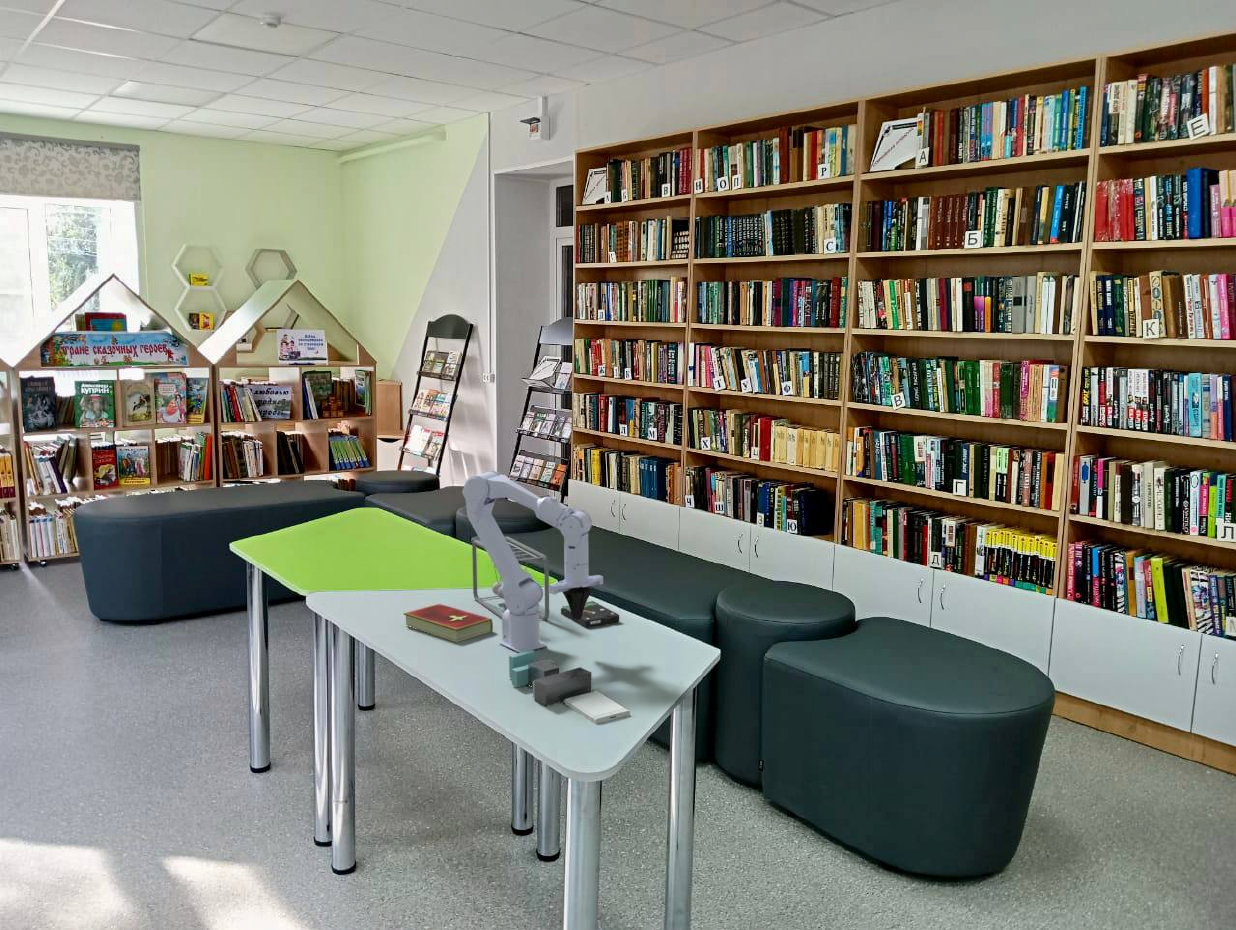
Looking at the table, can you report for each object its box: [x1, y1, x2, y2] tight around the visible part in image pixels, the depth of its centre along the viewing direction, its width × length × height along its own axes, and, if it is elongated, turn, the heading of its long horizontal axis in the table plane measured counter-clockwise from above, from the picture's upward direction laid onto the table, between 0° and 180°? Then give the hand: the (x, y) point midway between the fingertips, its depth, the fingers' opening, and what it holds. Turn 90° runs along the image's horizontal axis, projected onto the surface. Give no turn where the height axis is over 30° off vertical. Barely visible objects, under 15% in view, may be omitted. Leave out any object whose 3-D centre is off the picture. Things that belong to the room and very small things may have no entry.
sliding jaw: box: [508, 650, 555, 688], centre depth 214 cm, size 6×10×5 cm, turn 130°
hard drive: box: [563, 690, 631, 725], centre depth 198 cm, size 2×8×12 cm
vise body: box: [532, 666, 593, 707], centre depth 205 cm, size 6×12×4 cm, turn 130°
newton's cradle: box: [471, 536, 550, 621], centre depth 266 cm, size 30×10×18 cm, turn 29°
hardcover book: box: [403, 603, 494, 643], centre depth 250 cm, size 12×21×4 cm, turn 50°
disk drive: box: [560, 600, 620, 629], centre depth 260 cm, size 10×3×15 cm
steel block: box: [527, 659, 560, 688], centre depth 210 cm, size 6×4×5 cm, turn 40°
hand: (576, 618), depth 231 cm, fingers closed
